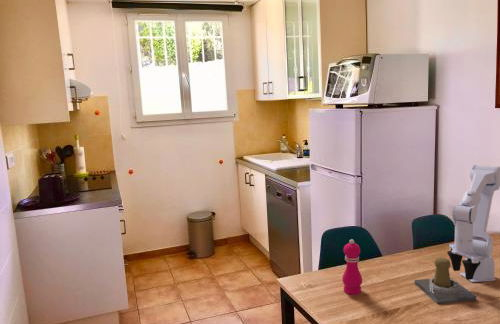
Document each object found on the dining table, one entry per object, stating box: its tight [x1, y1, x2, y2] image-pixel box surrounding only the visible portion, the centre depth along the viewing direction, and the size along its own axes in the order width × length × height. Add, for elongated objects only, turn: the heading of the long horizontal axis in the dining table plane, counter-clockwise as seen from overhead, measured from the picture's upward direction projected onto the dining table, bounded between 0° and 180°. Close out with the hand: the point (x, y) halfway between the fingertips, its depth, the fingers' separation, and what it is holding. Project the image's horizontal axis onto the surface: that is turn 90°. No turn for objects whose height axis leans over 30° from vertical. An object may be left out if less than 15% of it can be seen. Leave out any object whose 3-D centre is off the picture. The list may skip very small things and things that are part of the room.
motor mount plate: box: [414, 276, 477, 305], centre depth 145 cm, size 14×16×4 cm
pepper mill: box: [341, 238, 363, 296], centre depth 147 cm, size 7×7×20 cm
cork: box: [433, 257, 452, 288], centre depth 144 cm, size 6×6×11 cm
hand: (462, 274), depth 145 cm, fingers open, 7 cm apart
